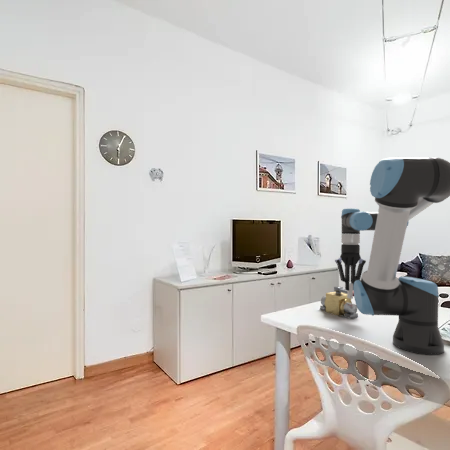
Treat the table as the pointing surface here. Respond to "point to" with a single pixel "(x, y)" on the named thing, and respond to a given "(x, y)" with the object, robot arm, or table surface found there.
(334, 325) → the table surface
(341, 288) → the lever
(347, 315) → the valve
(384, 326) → the table surface
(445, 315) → the table surface
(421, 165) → the robot arm
